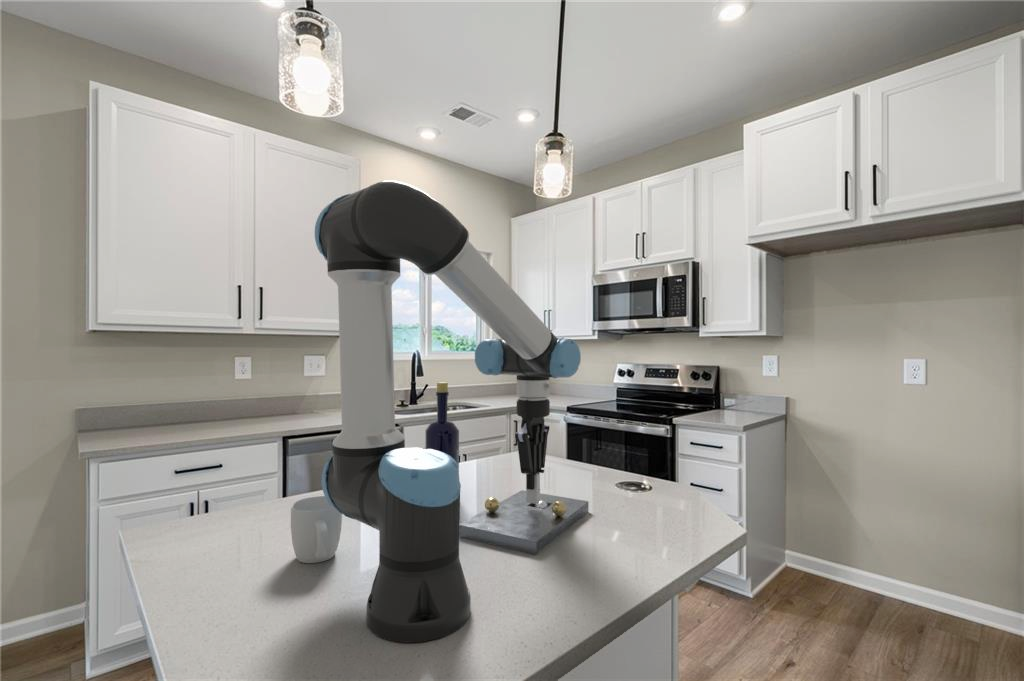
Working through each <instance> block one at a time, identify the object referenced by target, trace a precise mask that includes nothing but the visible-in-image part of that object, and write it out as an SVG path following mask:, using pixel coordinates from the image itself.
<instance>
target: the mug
mask: <svg viewBox="0 0 1024 681" xmlns="http://www.w3.org/2000/svg"><path fill="white" fill-rule="evenodd" d="M342 521H343V514H342V513H340V512H338V510H337V509H335V508H334V507H333V506H332V505H331V504H330V503H329V502H328V501H327V499H326V497H325V495H321V496H312V497H306V498H301V499H299V500H297V501H295V502H293V503H292V505H291V507H290V531H291V533H290V534H291V542H292V547H293V551H294V555H295V557H296V558H297V560H298V562H300V563H303V564H317V563H318V564H319V563H322V562H326V561H328V560H330V559H332V558H333V557H334V556H335V555H336V552H337V551H338V547H339V542H340V538H341V532H342V523H343V522H342Z"/></svg>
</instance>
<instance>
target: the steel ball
mask: <svg viewBox="0 0 1024 681" xmlns="http://www.w3.org/2000/svg"><path fill="white" fill-rule="evenodd" d="M535 507H536V508H542V509H545V508H547V507H548V505H547V503H546V502H544V501H540V503H538V504H535Z"/></svg>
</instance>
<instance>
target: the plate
mask: <svg viewBox="0 0 1024 681" xmlns="http://www.w3.org/2000/svg"><path fill="white" fill-rule="evenodd" d="M540 501H544V502H546V503H547V505H548V507H547V508H545V509H542V508H536V507H535V504H533V503H528V502H526V490H520V491H517V492H516V493H514V494H512V495H511V496H509V497H506V498H505V499H503V500H501V501H498V502H499V508H498V510H497V511H495V512H488V511H487V510H486V509H485V510H483V511H481V512H479V513H477V514H476V515H474V516H471V517H470V518H468V519H466V520H464V521H462V522H461V523H460V526H459V538H463V539H466V540H467V539H468V540H471V541H474V542H475V541H476V542H480V543H485V544H488V545H492V546H495V547H501V548H505V549H509V550H515V551H519V552H522V553H528V554H532V555H534V556H535V555H536V556H537V555H539V553H541V552H542V551H543V550H544V549H545V548H547V547H548V546H549V545H550V544H551V543H552V542H554V541H555V540H556V539H558V538H559V537H560V536H562V535H563V533H565V532H566V531H567V530H569V528H571V527H572V526H573V525H574V524H576V523H577V522H578V521H579V520H580V519H582V518H583V517H584V516H585V515H586V514H587V513H589V501H588V500H583V499H577V498H571V497H566V496H565V497H564V496H558V495H553V494H552V495H551V494H545V493H541V492H540ZM556 501H561V502H563V503H564V504H565V506H566V512H565V514H564V515H563V516H560V517H558V516H555V515H554V514H553V513H552V509H551V508H552V505H553V503H554V502H556Z"/></svg>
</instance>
